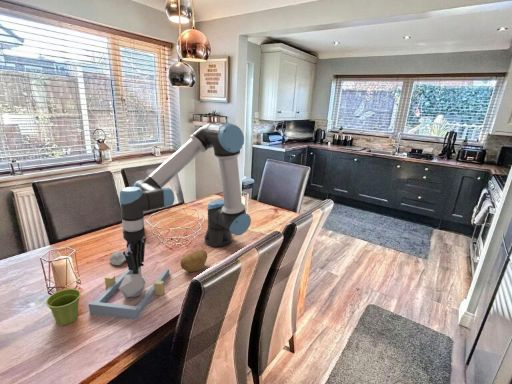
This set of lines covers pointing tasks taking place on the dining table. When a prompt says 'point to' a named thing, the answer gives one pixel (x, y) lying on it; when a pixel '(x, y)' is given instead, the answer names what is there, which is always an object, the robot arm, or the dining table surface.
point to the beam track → (124, 310)
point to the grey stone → (117, 258)
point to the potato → (194, 261)
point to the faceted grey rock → (132, 285)
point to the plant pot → (64, 305)
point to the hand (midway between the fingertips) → (137, 281)
